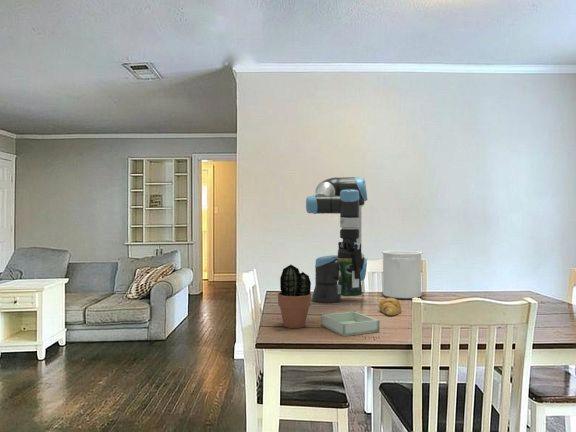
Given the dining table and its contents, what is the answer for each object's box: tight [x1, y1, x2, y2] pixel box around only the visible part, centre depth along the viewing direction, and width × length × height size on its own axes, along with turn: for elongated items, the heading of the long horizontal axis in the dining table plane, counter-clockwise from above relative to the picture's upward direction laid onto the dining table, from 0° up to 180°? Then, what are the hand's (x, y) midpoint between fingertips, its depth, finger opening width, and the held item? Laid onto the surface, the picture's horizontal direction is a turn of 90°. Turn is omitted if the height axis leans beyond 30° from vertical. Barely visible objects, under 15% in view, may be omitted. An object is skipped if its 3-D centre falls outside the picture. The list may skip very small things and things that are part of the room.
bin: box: [320, 311, 380, 337], centre depth 187 cm, size 18×16×4 cm
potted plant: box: [277, 264, 312, 329], centre depth 192 cm, size 14×14×25 cm
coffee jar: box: [337, 248, 363, 297], centre depth 187 cm, size 10×8×19 cm
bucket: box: [381, 249, 423, 301], centre depth 257 cm, size 26×22×24 cm
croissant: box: [378, 297, 402, 316], centre depth 218 cm, size 21×10×8 cm, turn 168°
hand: (349, 285), depth 187 cm, fingers closed on coffee jar, 8 cm apart
